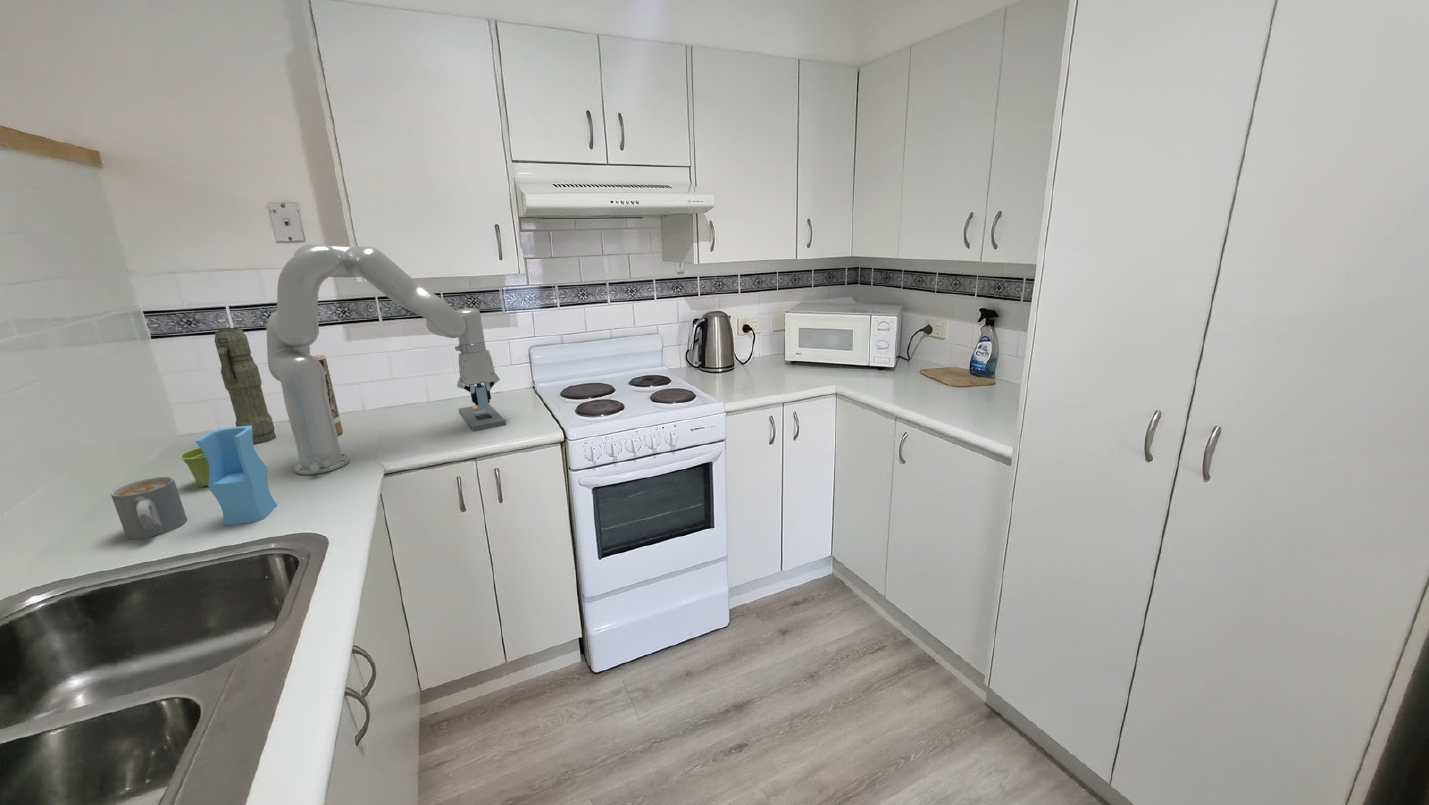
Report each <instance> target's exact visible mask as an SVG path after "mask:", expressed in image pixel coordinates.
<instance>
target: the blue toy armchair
mask: <svg viewBox="0 0 1429 805" xmlns="http://www.w3.org/2000/svg"><path fill="white" fill-rule="evenodd" d="M194 442H195V443H196V445H197V446H198V448H201V450H202V451H203V453H204V454H205V456H206V458H207V460H208V463H209V472H210V473H209V482H208V486H207V487H208V489H209V491H210V492H211V494H212V495H213V496H214V497H215V499H216V500H217V502H218V504H219V506H220V508H221V511H222V515H223V525H224V526H233V525H234V526H235V525H236V526H237V525H242V524H247V523H249V524H250V523H256V522H259V521H262V520H265V519H266V518H267V517H268V516H269V515H270V514H271V512H273V510H274V509H275V508H276V507H277V506H278V504H277V502H276V501H275V500H274V498H273V496H272V494H271V492H270V487H269V481H268V471H269V470H268V467H267V465H266V464H265V462H264V461H262V459H261V458H260V457H259V454H258V453H257V451H256V449H255V446H254V445H255V444H254V445H253V439H252V426H241V427H236V426H233V427H224V428H217V429H213V430H211V431H209V432H207V433H205V434H204V435H202V436H200V437H199V438H197V439H195V441H194Z"/></svg>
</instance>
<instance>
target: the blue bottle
mask: <svg viewBox="0 0 1429 805" xmlns="http://www.w3.org/2000/svg"><path fill="white" fill-rule="evenodd" d="M474 391H475V393H476V394H477V400H478V405H475V406H477V407H478V409H479V410H480V409H485V408H489V405H488V398H487V392H486V387H485V385H484V384H482V383H480V384H476V385H474Z"/></svg>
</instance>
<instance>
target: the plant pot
mask: <svg viewBox="0 0 1429 805" xmlns="http://www.w3.org/2000/svg"><path fill="white" fill-rule="evenodd" d="M179 457H180V459H181V460H183V462H184V463H185V464H186V465H187V467H188V468H189V471H190V472H191V474H192V476H193V478H194V480H195V482H196V484H197V486H198V487H201V488H204V487H208V482H209V473H210V472H209V463H208V460H207V458H206V456H205V454H204V453H203V451H202V450H201V448H200V447H197V448H194V449H191V450H189V451H188V450H187V451H185V452H183V453H182V454H180V456H179Z"/></svg>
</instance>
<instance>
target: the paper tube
mask: <svg viewBox="0 0 1429 805" xmlns="http://www.w3.org/2000/svg"><path fill="white" fill-rule="evenodd" d="M312 356H313V357H315V358H316V359H317V360H318V361H319V362H320V363H321V365H322V367H323V369H324V372H325V378H326V388H327V394H328V399H329V404H330V408H331V411H332V416H333V420H334V424H335V428H336V433H337V436H340V435H342V433H343V427H342V426H343V425H342V422H341V418H340V414H339V408H338V405H337V400H336V396H335V395H336V394H335V392H334V387H333V383H332V378H331V373H330V371H329V370H330V369H329V367H328V366H329V365H328V362H327V358H326V355H322V354H321V355H318V354H317V355H312Z"/></svg>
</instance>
